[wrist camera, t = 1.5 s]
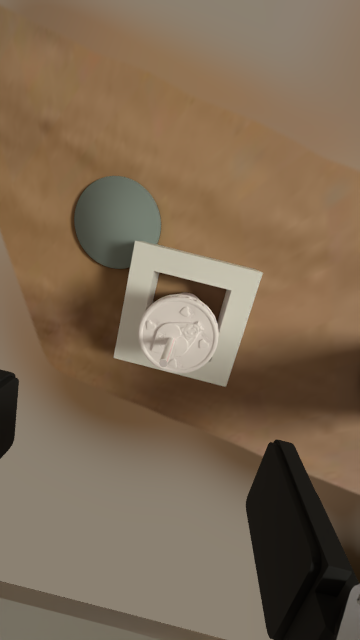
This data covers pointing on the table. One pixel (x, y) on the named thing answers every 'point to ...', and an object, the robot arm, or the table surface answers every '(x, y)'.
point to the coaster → (115, 220)
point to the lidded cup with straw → (178, 333)
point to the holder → (194, 268)
